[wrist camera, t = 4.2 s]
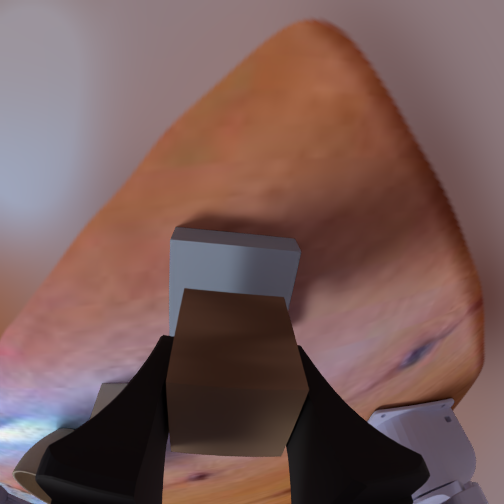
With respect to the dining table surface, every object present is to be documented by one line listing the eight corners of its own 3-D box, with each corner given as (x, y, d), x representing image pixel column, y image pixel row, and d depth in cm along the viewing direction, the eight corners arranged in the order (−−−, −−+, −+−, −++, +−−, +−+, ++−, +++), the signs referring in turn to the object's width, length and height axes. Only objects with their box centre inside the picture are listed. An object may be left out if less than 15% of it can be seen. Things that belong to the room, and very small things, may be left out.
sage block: (151, 382, 20) (142, 427, 17) (168, 415, 22) (162, 457, 19) (102, 382, 20) (88, 424, 17) (122, 415, 22) (112, 455, 18)
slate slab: (293, 235, 17) (301, 252, 15) (274, 327, 19) (278, 349, 18) (177, 224, 16) (170, 239, 14) (174, 319, 19) (169, 341, 17)
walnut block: (283, 297, 13) (309, 389, 9) (267, 366, 15) (280, 456, 10) (184, 288, 13) (165, 382, 8) (182, 360, 14) (171, 451, 10)
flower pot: (134, 438, 23) (122, 507, 17) (120, 474, 27) (111, 527, 21) (31, 395, 21) (3, 458, 15) (37, 441, 25) (19, 492, 18)
